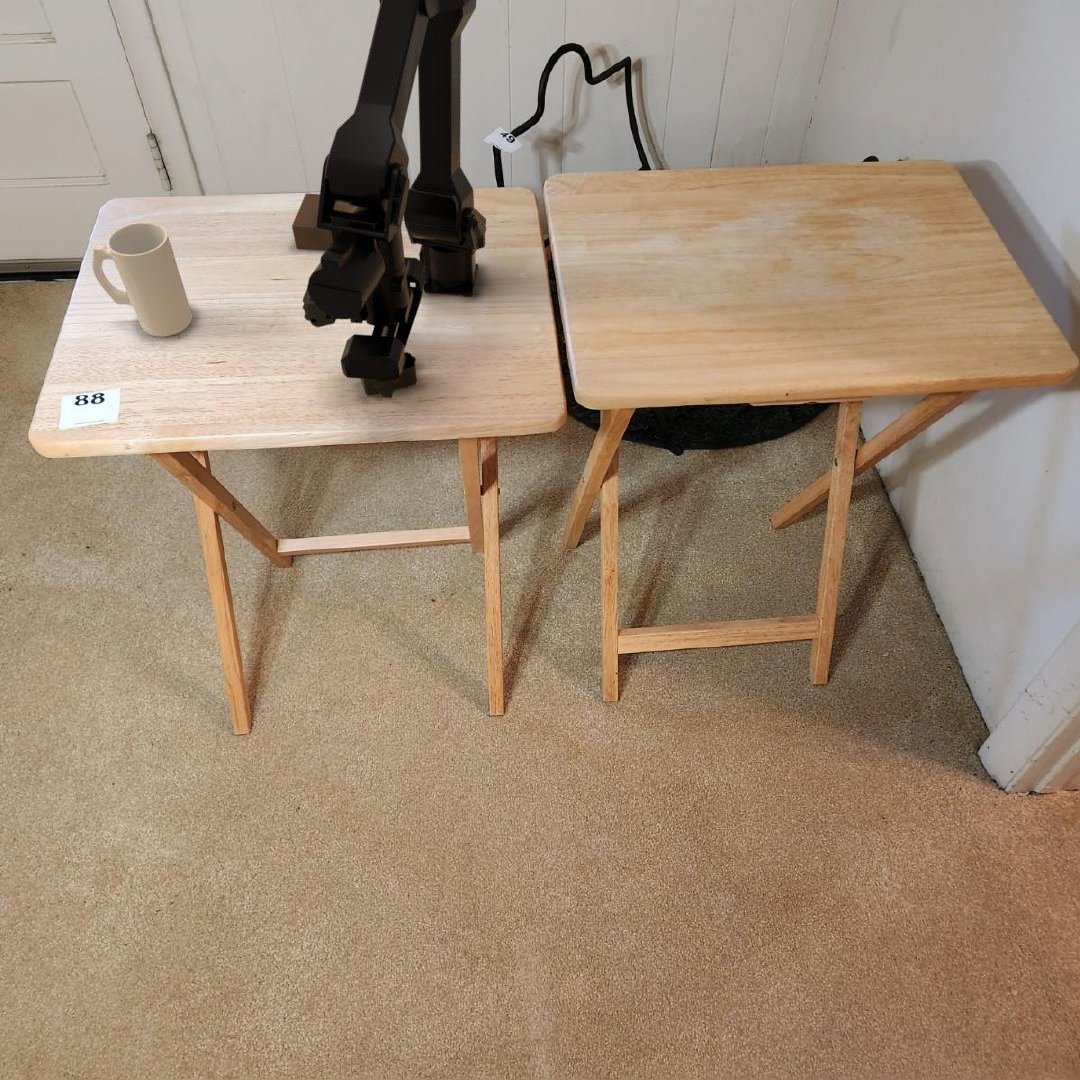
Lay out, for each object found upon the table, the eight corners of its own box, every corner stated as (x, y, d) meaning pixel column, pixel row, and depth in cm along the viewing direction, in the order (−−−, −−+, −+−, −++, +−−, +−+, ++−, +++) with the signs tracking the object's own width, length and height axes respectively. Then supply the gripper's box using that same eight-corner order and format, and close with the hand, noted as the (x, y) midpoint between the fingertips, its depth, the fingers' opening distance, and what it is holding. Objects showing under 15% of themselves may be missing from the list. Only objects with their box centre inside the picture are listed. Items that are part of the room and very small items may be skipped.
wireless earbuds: (425, 385, 115) (423, 364, 113) (366, 399, 114) (362, 378, 111) (415, 361, 118) (412, 340, 116) (357, 373, 117) (353, 352, 114)
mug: (200, 305, 125) (173, 222, 115) (187, 339, 120) (159, 256, 111) (122, 303, 125) (89, 221, 115) (106, 337, 120) (70, 254, 111)
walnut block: (366, 218, 137) (362, 196, 134) (354, 252, 132) (350, 229, 129) (310, 215, 137) (305, 193, 135) (296, 248, 132) (291, 226, 130)
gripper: (322, 207, 109) (342, 319, 121) (280, 311, 98) (308, 424, 110) (420, 213, 109) (431, 325, 121) (390, 318, 97) (405, 430, 109)
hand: (393, 373), depth 115 cm, fingers open, 8 cm apart
